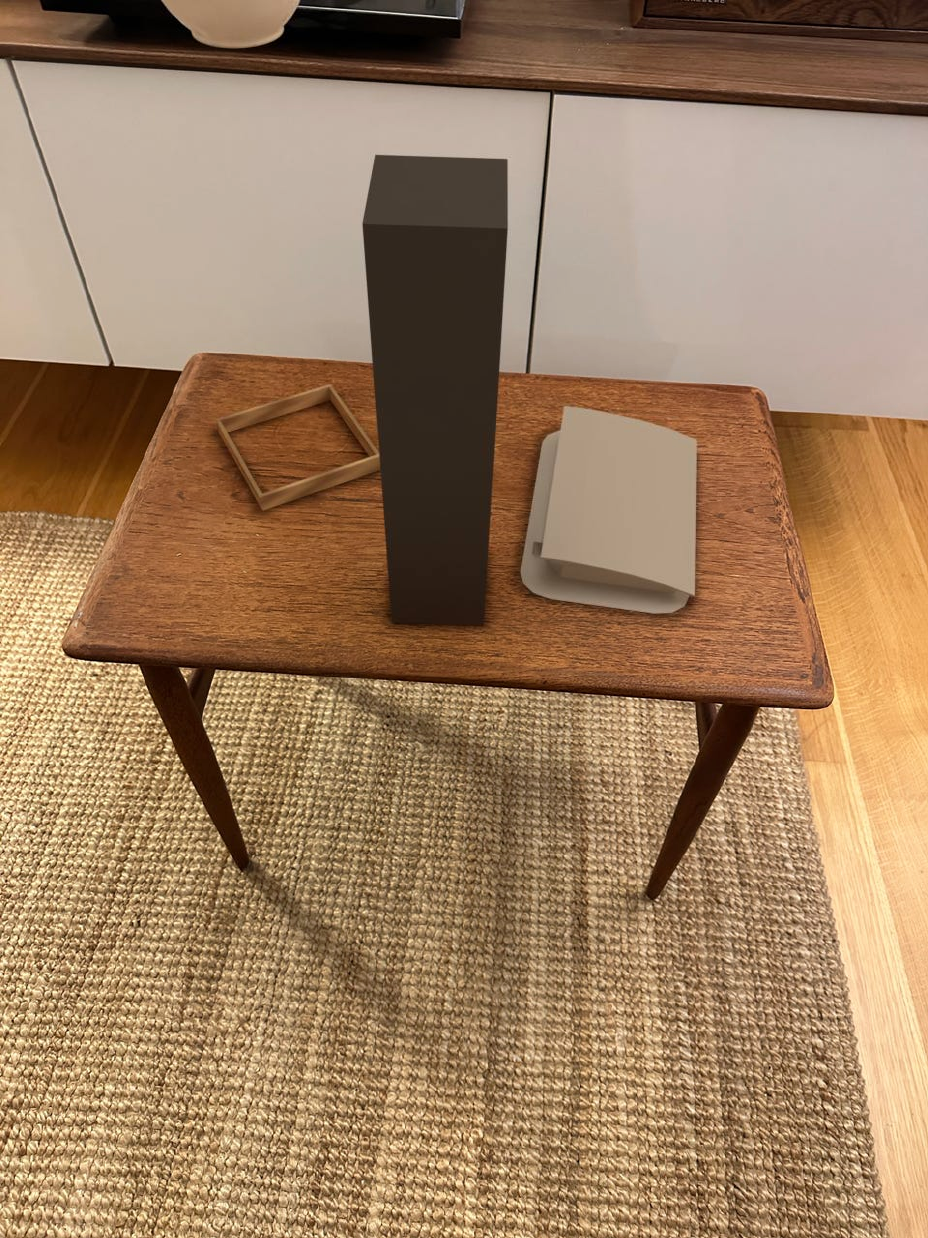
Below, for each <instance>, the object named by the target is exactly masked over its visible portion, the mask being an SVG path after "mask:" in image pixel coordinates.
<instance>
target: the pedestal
mask: <svg viewBox="0 0 928 1238" xmlns="http://www.w3.org/2000/svg"><path fill="white" fill-rule="evenodd" d="M508 161H509V160H508V158H488V157H487V158H485V157H457V156H455V157H454V156H430V155H429V156H427V155H426V156H425V155H395V154H393V155H392V154H375V155H374V159H373V163H372V169H371V170H372V171H371V175H370V181H369V186H368V192H367V196H366V202H365V208H364V212H363V217H362V222H361V223H362V225H361V226H362V235H363V236H362V237H363V251H364V252H363V253H364V266H365V278H366V292H367V293H366V294H367V305H368V306H367V307H368V320H369V332H370V333H369V335H370V346H371V347H370V348H371V360H372V361H371V362H372V373H373V374H372V375H373V387H374V398H375V399H374V401H375V414H376V427H377V428H376V429H377V442H378V452H379V457H380V470H379V471H380V483H381V493H382V494H381V497H382V511H383V523H384V524H383V525H384V535H385V536H384V537H385V538H384V539H385V550H386V551H385V552H386V561H387V562H386V564H387V578H388V592H389V605H390V619H391V623H393V624H417V625H418V624H419V625H444V626H445V625H446V626H447V625H448V626H474V627H475V626H476V627H484V626H485V620H486V619H485V616H486V615H485V614H486V601H487V600H486V599H487V585H488V568H489V567H488V566H489V551H490V536H491V535H490V533H491V519H492V516H491V515H492V503H493V502H492V500H493V485H494V484H493V483H494V466H495V449H496V434H497V416H498V400H499V399H498V398H499V384H500V383H499V381H500V365H501V348H502V335H503V334H502V333H503V331H502V330H503V318H504V317H503V316H504V315H503V314H504V297H505V281H506V268H507V267H506V266H507V265H506V264H507V250H508V249H507V248H508V233H509V232H508V230H509V193H508V192H509V189H508V188H509V177H508V176H509V175H508V173H509V172H508V171H509V168H508V167H509V165H508V164H509V163H508Z"/></svg>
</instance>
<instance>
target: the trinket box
mask: <svg viewBox="0 0 928 1238" xmlns="http://www.w3.org/2000/svg"><path fill="white" fill-rule="evenodd" d="M161 2H162V3H163V5H164V6H165V7H166V9H167V10H168V11H169V12H170V13H171V15H172V16H174V17H175V19H177V20H178V21H179V23H180V24H182V25H183V26H184V27H185V28H187V29H188V30H190V32H191V35H192V37H193V38H194V39H195V40H196V41H198V42H200V43H202V44H205V45H207V46H210V47H215V48H223V49H246V48H253V47H259V46H263V45H266V44H268V43H271V42H274V41H276V40H277V39H278V38H280V37H281V36H282V35H283V33H284V32H285V25H286V24H287V23H288V22H289V20H290V19H291V18H292V16H293V14H294V13H295V11H296V10H297V8H298V6H299V4H300V2H301V0H161Z"/></svg>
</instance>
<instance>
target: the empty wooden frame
mask: <svg viewBox="0 0 928 1238" xmlns="http://www.w3.org/2000/svg"><path fill="white" fill-rule="evenodd" d="M326 402H331V404H332V405H333V407H335V409H336V410H337V412H338V413H339V416H340V417H341V418H342V419H343V422H345V424H346V425H347V427H348V428H349V429H350V431H351V433H352V434H353V435H354V437H355V438H356V440H357V441H358V442H359V444H360V445H361V446H362V448H363V450H364V451H365V453H366V454H367V455H368V457H365V458H363V459H359V460H356V461H354V462H350V463H348V464H345V465H342V466H339V467H336V468H333V469H331V470H327V471H324V472H321V473H318V474H316V475H313V476H310V477H307V478H304V479H301V480H297V481H295V482H292V483H289V484H287V485H284V486H281V487H277V488H274V489H271V490H268V491H265V492H262V491H261V488H260V487H259V486H258V484H257V482H256V480H255V478H254V476H253V475H252V473H251V471H250V469H249V468H248V466H247V464H246V462H245V460H244V459H243V457H242V456H241V454H240V452H239V451H238V449H237V447H236V445H235V442H233V440H232V438H231V436H230V434H229V433H231V432H234V431H238V430H240V429H244V428H247V427H250V426H254V425H257V424H259V423H264V422H266V421H269V420H273V419H276V418H278V417H282V416H285V415H289V414H292V413H295V412H297V411H301V410H305V409H307V408H310V407H313V406H317V405H321V404H324V403H326ZM215 422H216V426H217V430H218V434H219V436H220V437H221V439H222V441H223V443H224V444H225V446H226V448H227V450H228V451H229V454H230V456H231V457H232V459H233V461H234V462H235V464H236V466H237V468H238V470H239V472H240V473H241V475H242V477H243V478H244V480H245V483H246V484H247V486H248V487H249V490H250V491H251V493H252V495H253V497H254V498H255V500H256V502H257V503H258V505H259V507H260V509H261V511H267V510H269V509H271V508H275V507H278V506H280V505H283V504H286V503H290V502H292V501H295V500H298V499H301V498H304V497H307V496H309V495H312V494H315V493H318V492H321V491H324V490H327V489H329V488H332V487H336V486H338V485H341V484H344V483H347V482H349V481H353V480H355V479H359V478H362V477H365V476H367V475H370V474H373V473H376V472H379V471H380V457H379V449H377V448H376V446H375V445H374V443H373V442H372V440H371V439H370V438H369V436H368V434H367V433H366V432H365V430H364V429H363V427H362V426H361V425H360V423H359V422H358V421H357V419H356V417H355V415H354V414H353V413H352V411H350V409H349V407H347V405H346V403H345V401H344V400H343V399H342V398H341V397H340V395H339V394H338V392H337V391H336V390H335V388H334V387H333V385H332V384H331V383H329V384H328V383H327V384H325V385H322V386H318V387H315V388H313V389H310V390H305V391H303V392H299V393H296V394H292V395H290V396H287V397H283V398H280V399H277V400H274V401H269V402H267V403H264V404H261V405H257V406H254V407H251V408H248V409H244V410H241V411H237V412H234V413H232V414H228V415H225V416H222V417H218V418H216V419H215Z"/></svg>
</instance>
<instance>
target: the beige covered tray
mask: <svg viewBox="0 0 928 1238" xmlns="http://www.w3.org/2000/svg"><path fill="white" fill-rule="evenodd" d="M697 458H698V439H696V438H693V437H690V436H689V435H686V434H684V433H682V432H680V431H679V432H678V431H676V430H675V429H672V428H670V427H669V428H668V427H665V426H663V425H659V424H656V423H652V422H649V421H645V420H642V419H637V418H633V417H629V416H624V415H621V414H615V413H610V412H605V411H600V410H596V409H591V408H586V407H585V408H584V407H577V406H568V405H563V411H562V418H561V423H560V429H559V430H557V431H554V432H551V433H550V434H547V435H546V437H545V438H544V440H543V441H542V444H541V448H540V454H539V460H538V465H537V470H536V471H537V472H536V476H535V477H536V478H535V484H534V490H533V495H532V501H531V507H530V514H529V517H528V525H527V531H526V537H525V542H524V548H523V554H522V558H521V559H522V560H521V565H520V571H519V573H520V576H521V582H522V584H523V585H524V587H526V588H527V589H528V590H529V591H530V592H531V593H533V594H534V595H537V596H540V597H543V598H546V599H549V600H552V601H553V600H554V601H559V602H560V601H562V602H569V603H575V604H581V605H583V604H584V605H589V606H597V607H602V608H609V609H610V608H611V609H618V610H625V611H630V612H631V611H632V612H639V613H646V614H653V615H656V614H657V615H658V614H659V615H660V614H661V615H662V614H673V613H675V612H677V611H679V610H681V609H682V608H684V607H685V606H686V605H687V602H688V600H689V597H690V596H692V597H694V598H695V596H696V545H697V543H696V539H697V538H696V537H697V534H696V533H697V532H696V531H697V465H698V464H697Z"/></svg>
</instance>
